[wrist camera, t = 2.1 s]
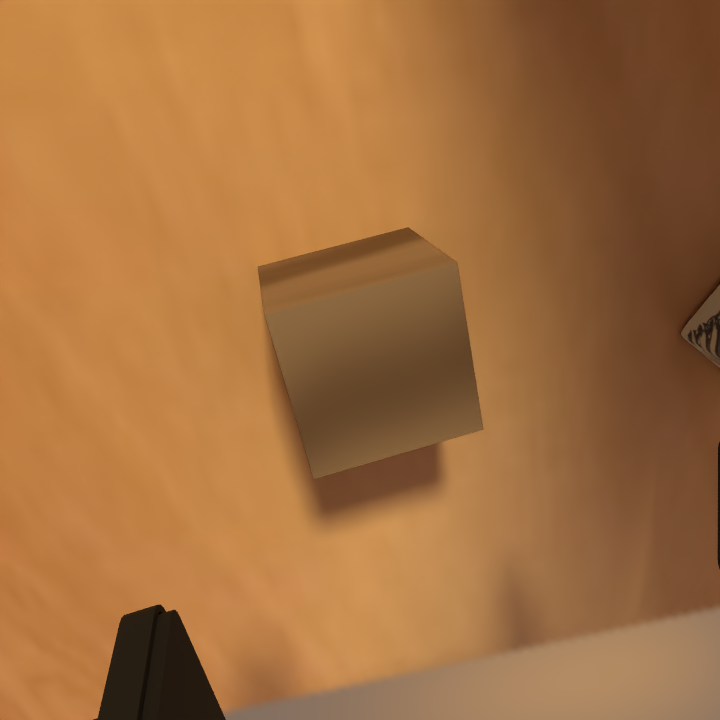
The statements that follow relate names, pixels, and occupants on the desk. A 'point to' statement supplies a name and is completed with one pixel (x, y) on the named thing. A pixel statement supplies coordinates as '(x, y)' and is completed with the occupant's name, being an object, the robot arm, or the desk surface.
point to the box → (706, 328)
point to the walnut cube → (372, 348)
